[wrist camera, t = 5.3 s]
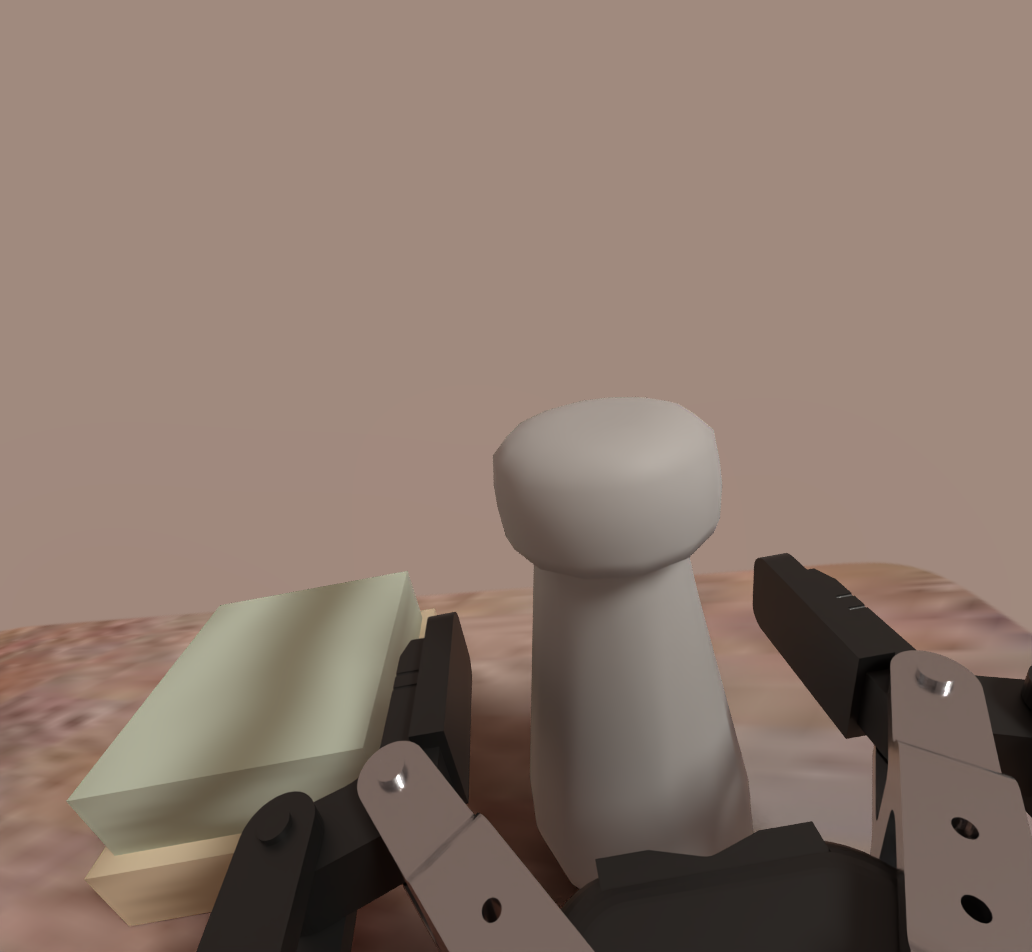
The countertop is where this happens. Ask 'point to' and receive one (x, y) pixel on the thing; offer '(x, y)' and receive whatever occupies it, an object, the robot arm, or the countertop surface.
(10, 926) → the countertop surface
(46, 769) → the countertop surface
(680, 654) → the salt shaker
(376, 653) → the brick base
